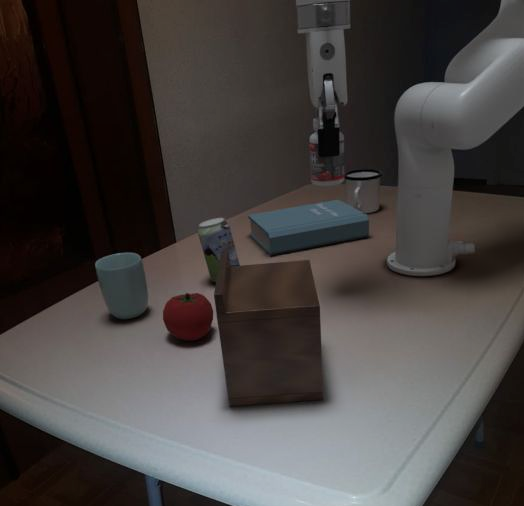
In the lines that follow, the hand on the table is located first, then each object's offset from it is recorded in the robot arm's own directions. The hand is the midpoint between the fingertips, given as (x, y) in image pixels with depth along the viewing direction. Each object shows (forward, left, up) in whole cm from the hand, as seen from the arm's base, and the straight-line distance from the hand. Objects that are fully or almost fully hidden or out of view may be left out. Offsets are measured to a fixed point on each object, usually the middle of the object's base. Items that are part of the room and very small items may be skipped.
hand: (327, 151), depth 88 cm
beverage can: (+20, -9, -24) cm, 32 cm away
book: (+2, -31, -24) cm, 39 cm away
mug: (-13, -48, -24) cm, 55 cm away
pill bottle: (0, 0, -5) cm, 5 cm away
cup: (+36, +3, -24) cm, 43 cm away
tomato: (+24, +13, -24) cm, 36 cm away
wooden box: (+11, +26, -24) cm, 37 cm away
